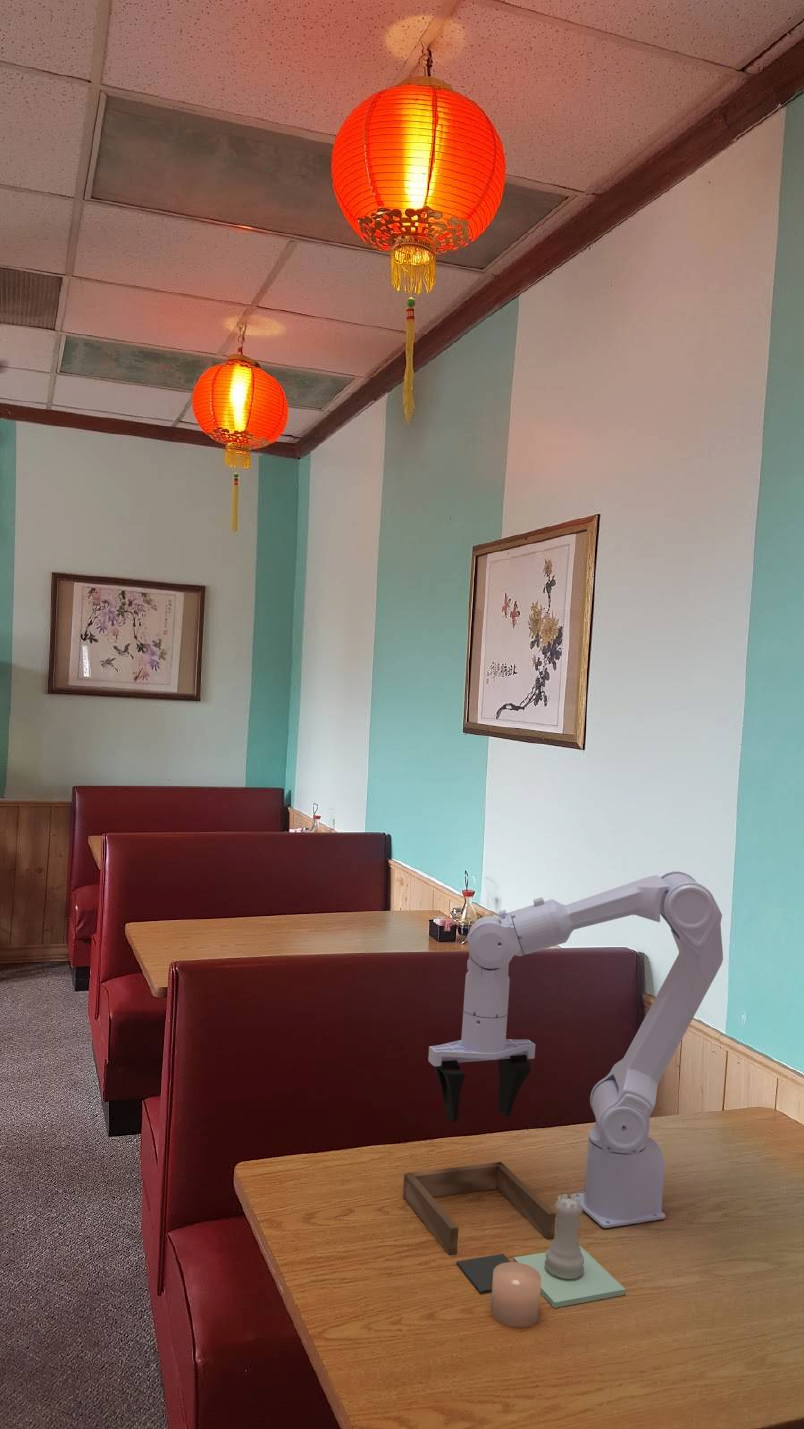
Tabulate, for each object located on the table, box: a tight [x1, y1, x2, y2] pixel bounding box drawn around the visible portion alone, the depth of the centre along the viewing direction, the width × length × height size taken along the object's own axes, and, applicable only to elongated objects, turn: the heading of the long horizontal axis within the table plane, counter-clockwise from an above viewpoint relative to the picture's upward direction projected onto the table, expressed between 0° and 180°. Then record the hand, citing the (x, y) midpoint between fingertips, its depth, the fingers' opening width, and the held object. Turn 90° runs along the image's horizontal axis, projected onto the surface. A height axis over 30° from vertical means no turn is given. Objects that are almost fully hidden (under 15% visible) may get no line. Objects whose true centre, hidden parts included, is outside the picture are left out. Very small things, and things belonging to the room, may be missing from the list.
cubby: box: [402, 1161, 557, 1255], centre depth 125 cm, size 14×14×3 cm
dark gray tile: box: [456, 1253, 511, 1295], centre depth 112 cm, size 6×6×1 cm
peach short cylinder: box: [490, 1261, 541, 1329], centre depth 105 cm, size 5×5×4 cm
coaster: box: [512, 1246, 626, 1309], centre depth 112 cm, size 9×9×1 cm
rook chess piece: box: [545, 1193, 584, 1280], centre depth 113 cm, size 4×4×8 cm
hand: (478, 1115), depth 130 cm, fingers open, 7 cm apart
